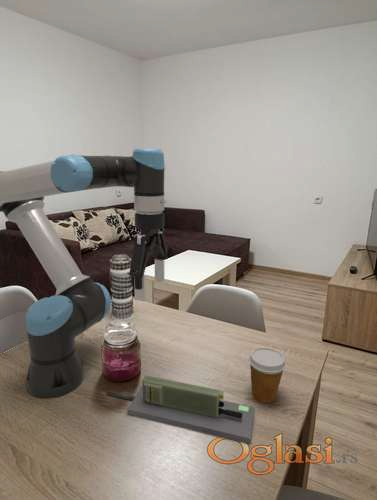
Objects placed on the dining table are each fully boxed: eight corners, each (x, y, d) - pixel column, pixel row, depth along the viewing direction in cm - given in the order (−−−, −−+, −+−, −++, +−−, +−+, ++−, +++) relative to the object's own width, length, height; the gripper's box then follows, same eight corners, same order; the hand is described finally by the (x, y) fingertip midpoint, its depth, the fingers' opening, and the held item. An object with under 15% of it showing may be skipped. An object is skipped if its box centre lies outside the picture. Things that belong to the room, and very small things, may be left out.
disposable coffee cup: (286, 392, 90) (291, 354, 87) (274, 413, 82) (278, 372, 79) (254, 379, 95) (257, 342, 92) (239, 398, 87) (242, 358, 84)
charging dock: (96, 406, 83) (96, 401, 83) (115, 382, 93) (115, 377, 92) (249, 443, 73) (250, 438, 73) (253, 412, 83) (254, 406, 82)
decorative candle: (127, 308, 137) (125, 251, 131) (138, 317, 130) (137, 256, 124) (107, 314, 132) (103, 255, 125) (117, 323, 125) (114, 261, 118)
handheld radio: (146, 394, 86) (242, 414, 80) (141, 403, 83) (241, 425, 77) (146, 373, 84) (244, 392, 78) (140, 381, 81) (242, 402, 75)
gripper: (143, 221, 70) (145, 311, 76) (178, 206, 93) (177, 276, 99) (112, 219, 72) (116, 307, 78) (154, 204, 95) (154, 273, 101)
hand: (150, 290), depth 89 cm, fingers open, 13 cm apart
